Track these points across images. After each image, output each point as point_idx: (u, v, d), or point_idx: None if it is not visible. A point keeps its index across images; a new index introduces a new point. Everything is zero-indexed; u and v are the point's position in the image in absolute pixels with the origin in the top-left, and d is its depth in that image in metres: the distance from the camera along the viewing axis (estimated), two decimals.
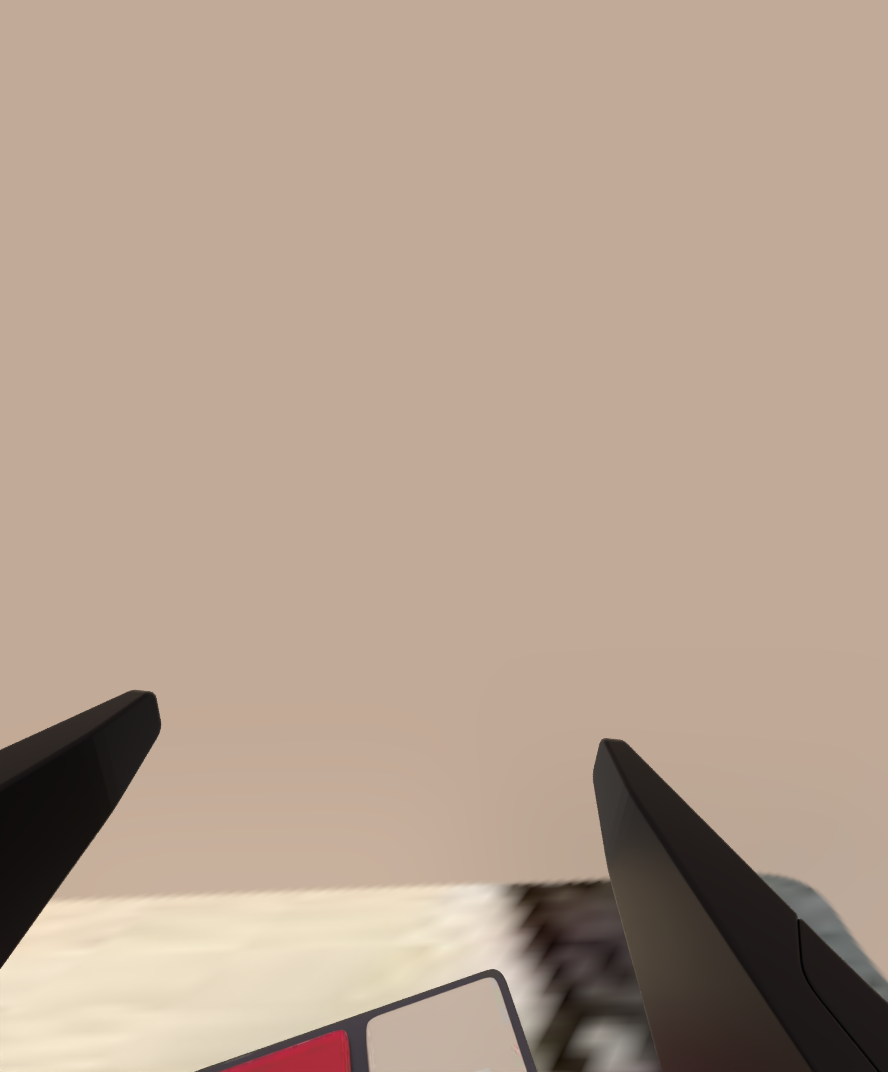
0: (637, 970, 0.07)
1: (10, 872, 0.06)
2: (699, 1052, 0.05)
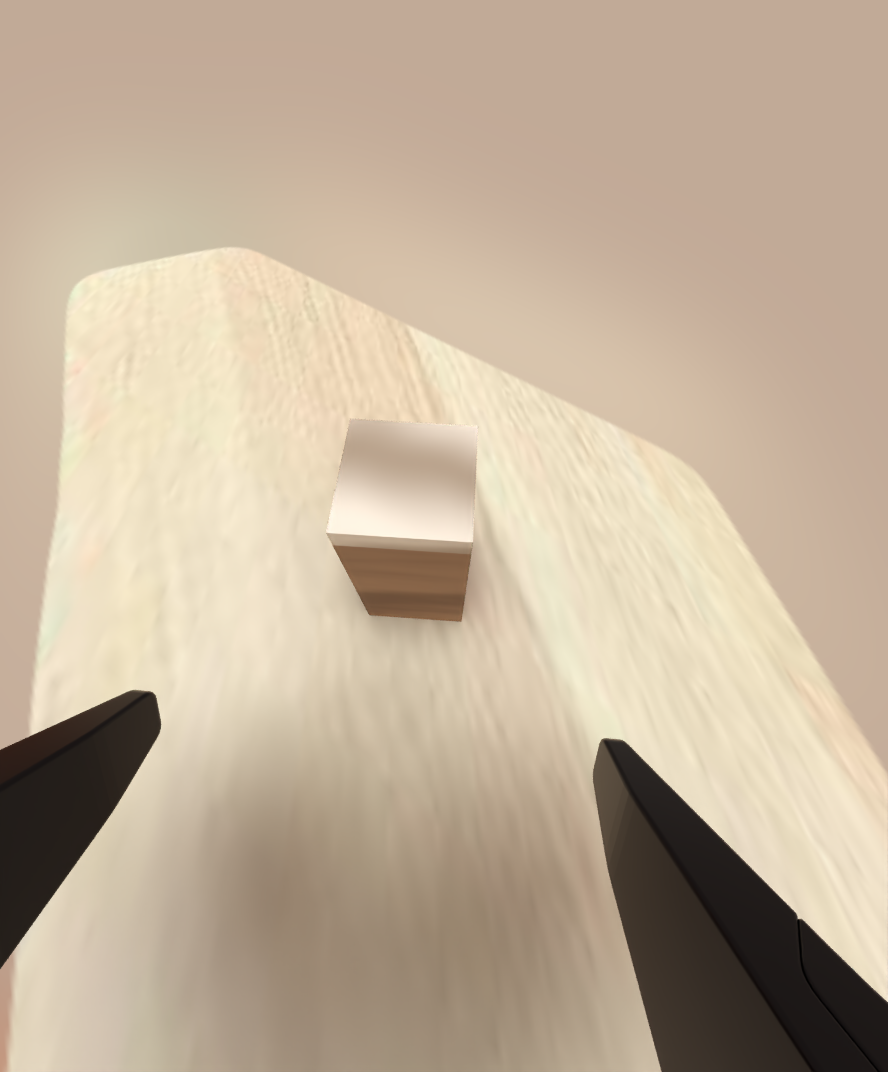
0: (637, 970, 0.07)
1: (10, 872, 0.06)
2: (699, 1052, 0.05)
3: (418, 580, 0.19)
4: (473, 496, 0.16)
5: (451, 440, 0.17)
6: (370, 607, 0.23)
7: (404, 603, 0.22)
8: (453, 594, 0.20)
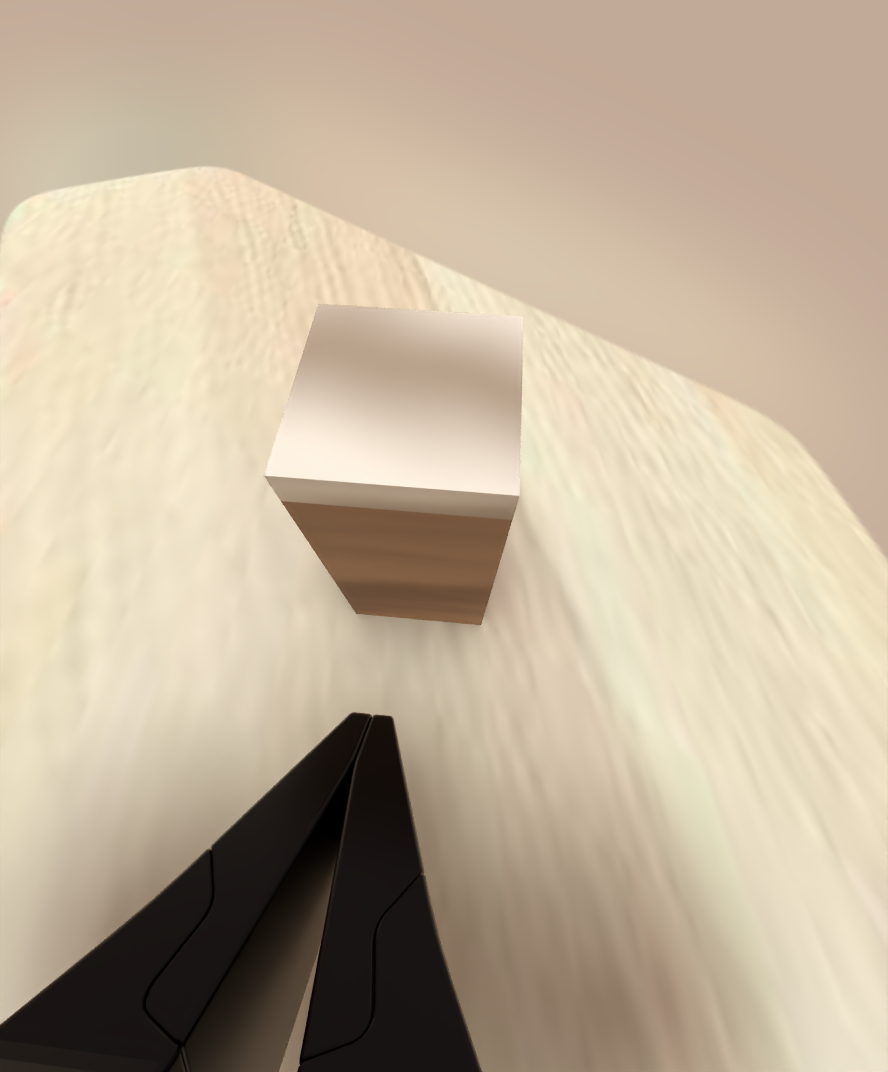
0: None
1: (312, 909, 0.06)
2: None
3: (423, 564, 0.12)
4: (518, 421, 0.09)
5: (481, 337, 0.10)
6: (356, 603, 0.16)
7: (403, 598, 0.15)
8: (475, 587, 0.13)
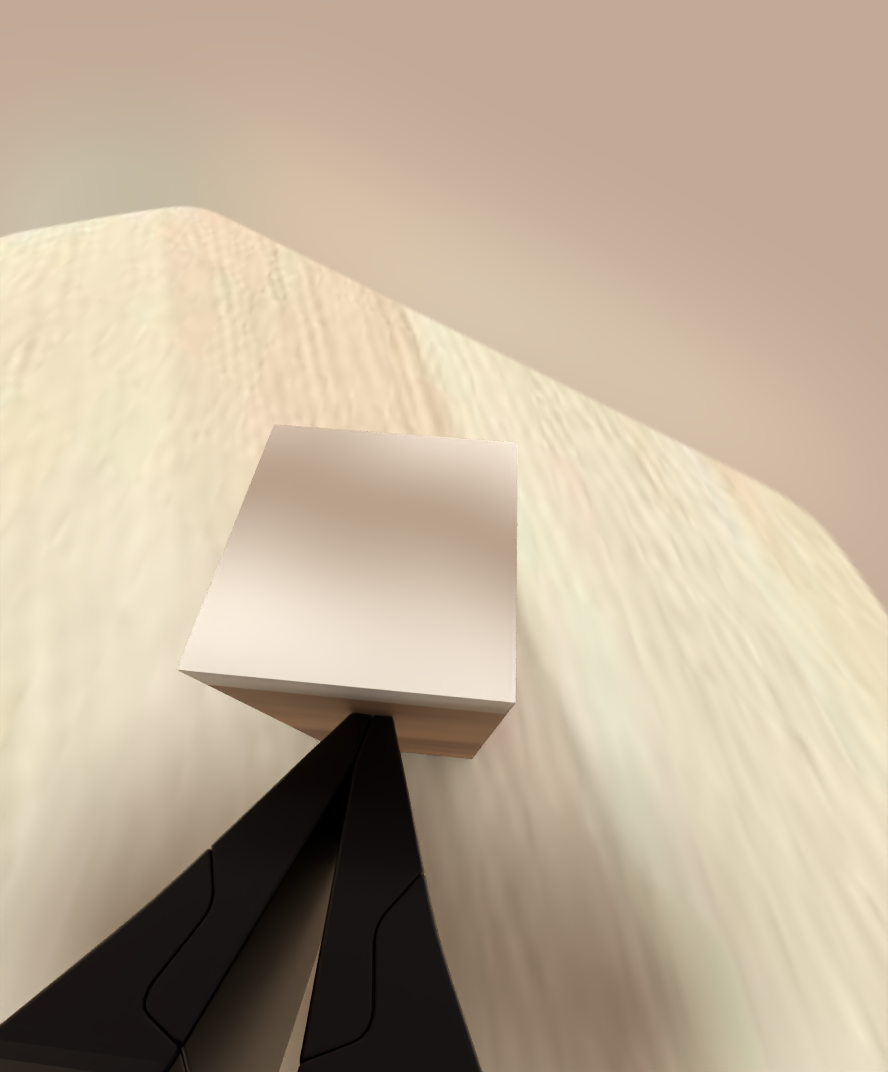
0: None
1: (312, 909, 0.06)
2: None
3: (398, 728, 0.10)
4: (513, 587, 0.07)
5: (467, 470, 0.09)
6: None
7: None
8: (463, 742, 0.11)
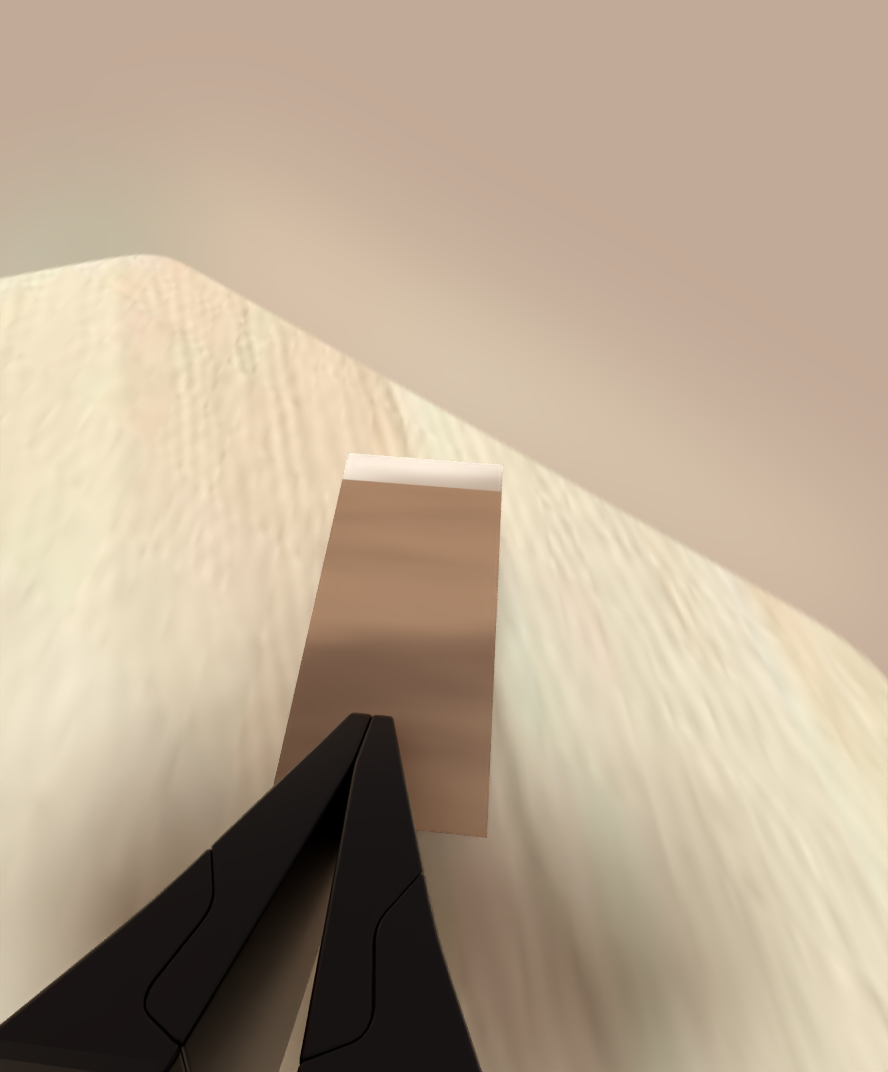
0: None
1: (312, 909, 0.06)
2: None
3: (425, 579, 0.12)
4: None
5: None
6: (294, 744, 0.11)
7: (377, 701, 0.11)
8: (477, 636, 0.12)
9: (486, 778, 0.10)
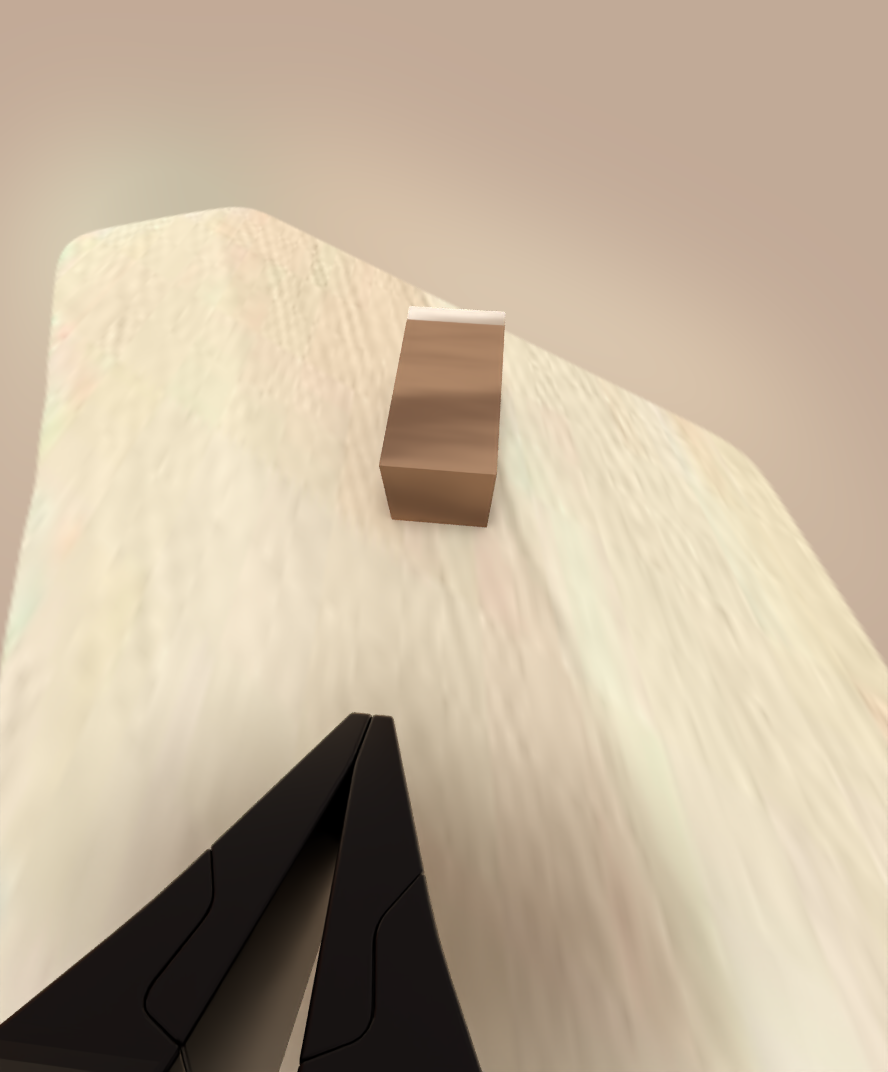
0: None
1: (312, 909, 0.06)
2: None
3: (459, 367, 0.21)
4: None
5: None
6: (390, 438, 0.19)
7: (435, 421, 0.20)
8: (490, 393, 0.20)
9: (496, 451, 0.19)
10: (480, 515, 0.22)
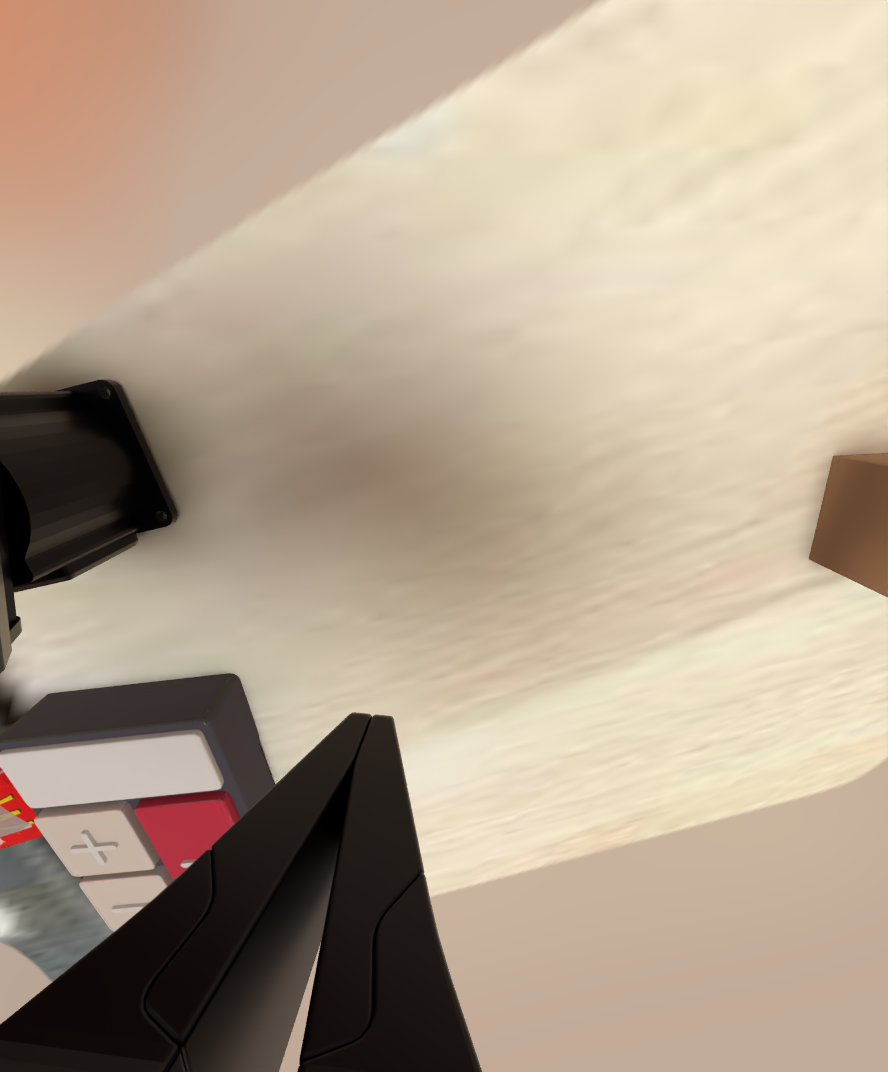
0: None
1: (312, 909, 0.06)
2: None
3: None
4: None
5: None
6: None
7: None
8: None
9: None
10: (831, 560, 0.20)
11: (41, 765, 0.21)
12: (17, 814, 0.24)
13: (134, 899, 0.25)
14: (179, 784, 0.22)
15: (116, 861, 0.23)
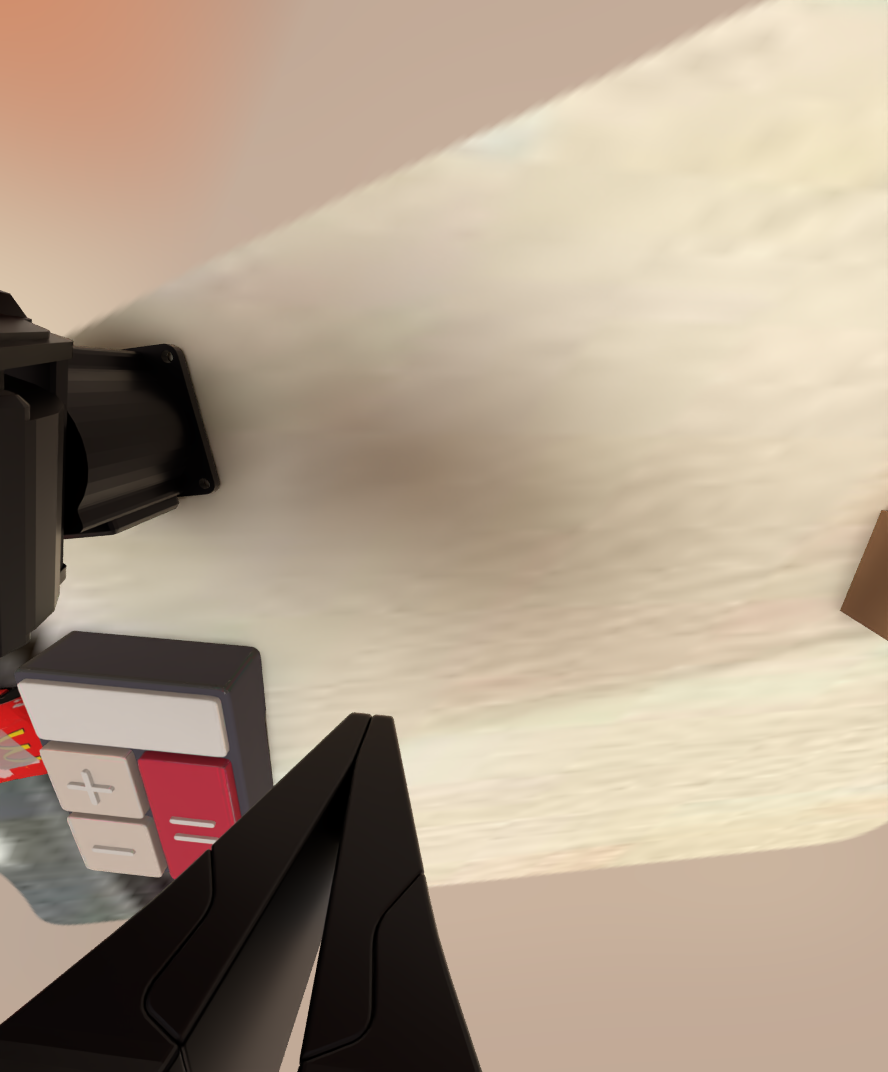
0: None
1: (312, 909, 0.06)
2: None
3: None
4: None
5: None
6: None
7: None
8: None
9: None
10: (864, 615, 0.20)
11: (59, 700, 0.22)
12: (27, 748, 0.25)
13: (116, 843, 0.25)
14: (186, 744, 0.22)
15: (108, 804, 0.24)
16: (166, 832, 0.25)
